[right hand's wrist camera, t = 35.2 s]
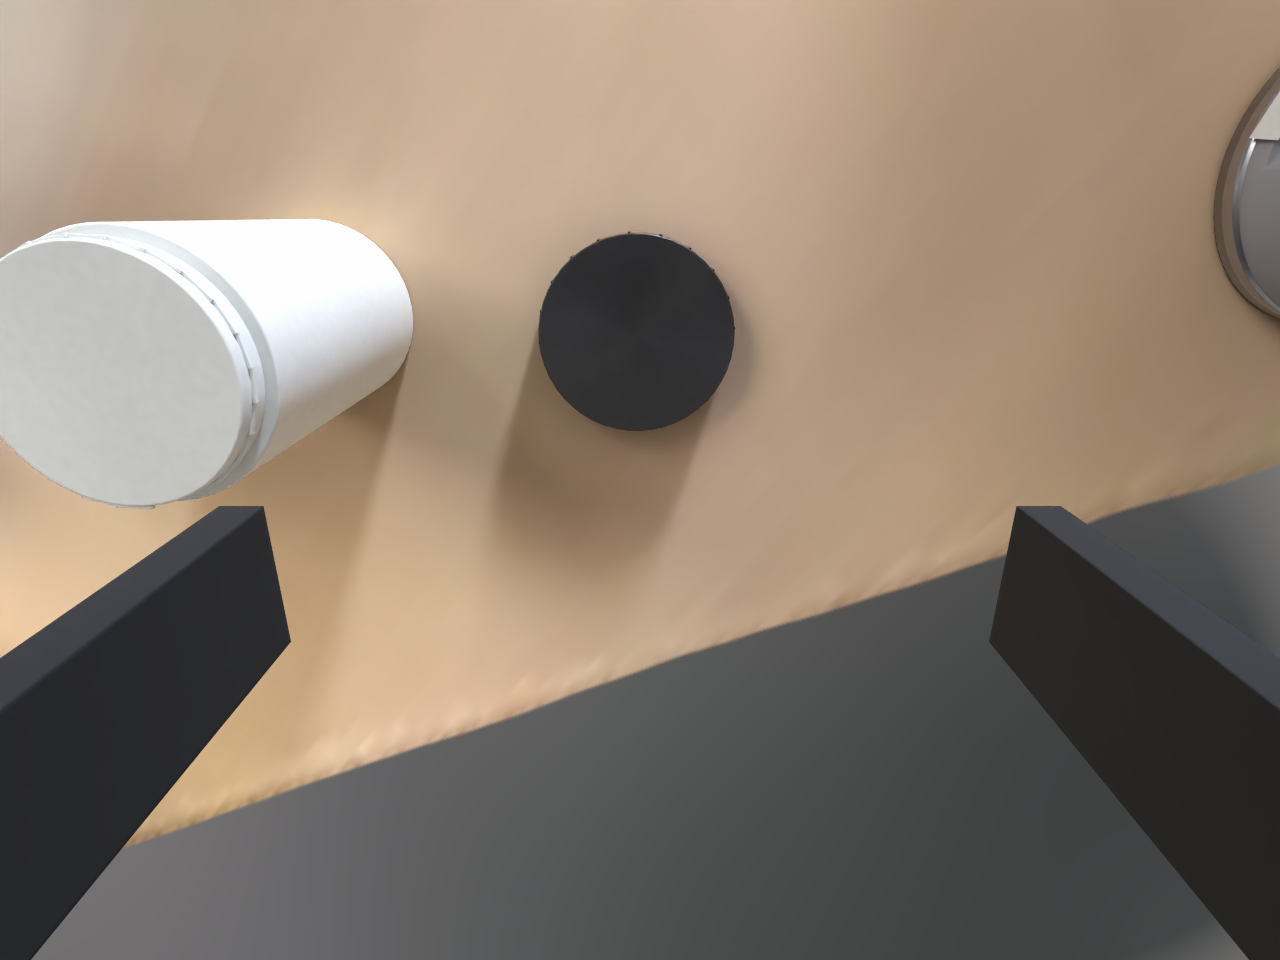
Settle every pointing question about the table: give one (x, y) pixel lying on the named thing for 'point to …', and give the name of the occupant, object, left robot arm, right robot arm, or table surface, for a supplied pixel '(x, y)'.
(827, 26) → the table surface
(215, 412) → the jar
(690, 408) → the lid
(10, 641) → the table surface
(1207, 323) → the table surface
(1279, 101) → the right robot arm
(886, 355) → the table surface
